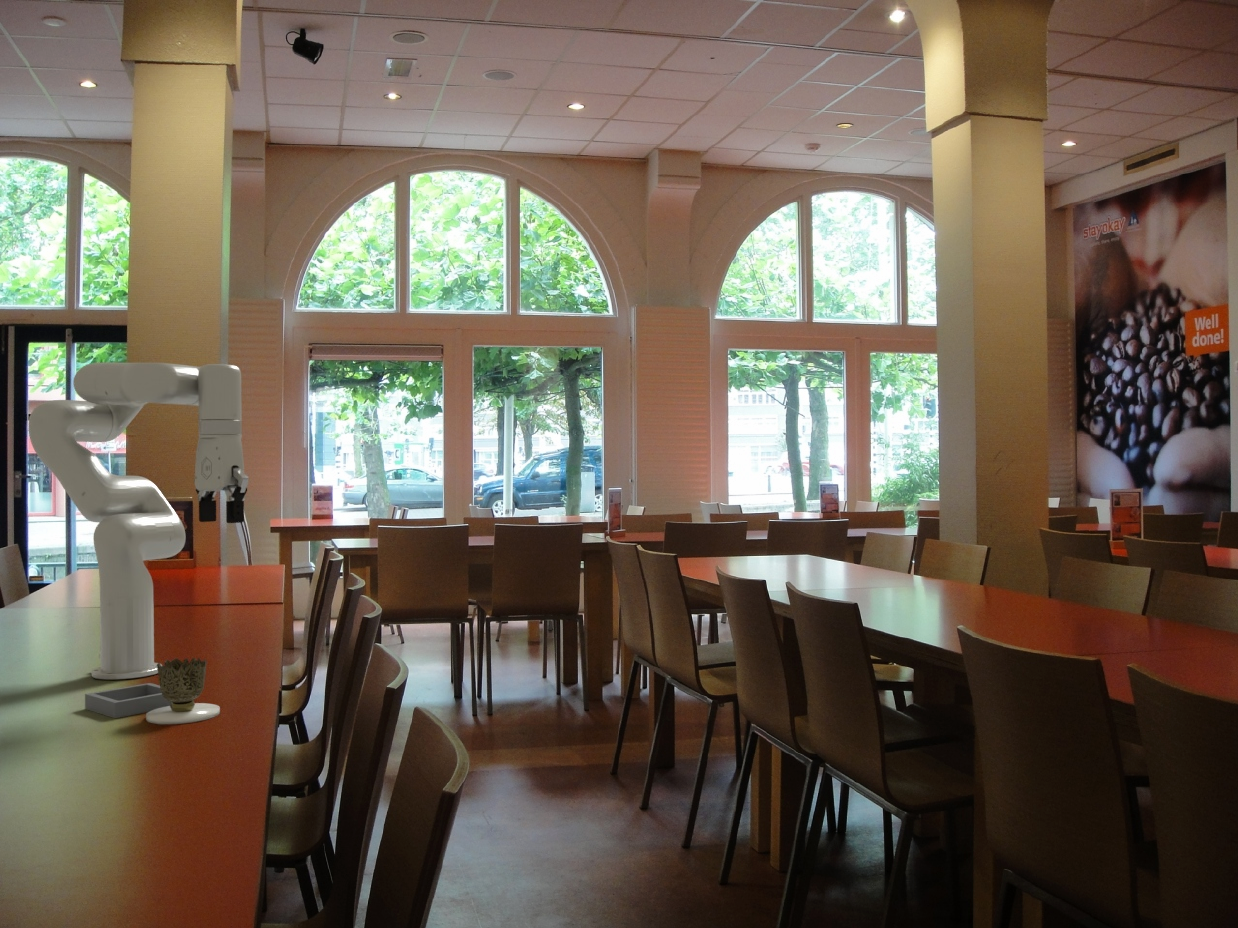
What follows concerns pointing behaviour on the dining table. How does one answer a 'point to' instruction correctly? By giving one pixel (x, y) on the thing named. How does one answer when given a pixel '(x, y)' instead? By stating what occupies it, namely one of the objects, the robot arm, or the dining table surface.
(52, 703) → the dining table surface
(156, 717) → the coaster
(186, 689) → the ornate bronze lamp shade
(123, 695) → the pocket frame
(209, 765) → the dining table surface
